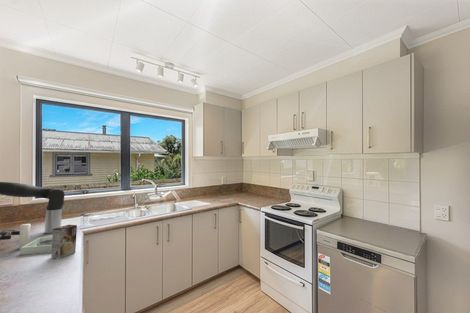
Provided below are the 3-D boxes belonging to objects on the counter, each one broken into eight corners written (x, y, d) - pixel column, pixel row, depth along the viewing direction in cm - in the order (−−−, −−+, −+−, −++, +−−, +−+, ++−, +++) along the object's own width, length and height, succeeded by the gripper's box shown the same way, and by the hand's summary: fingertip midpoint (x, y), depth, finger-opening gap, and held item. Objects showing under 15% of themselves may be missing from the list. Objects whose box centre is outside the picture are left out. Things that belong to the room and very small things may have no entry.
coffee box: (67, 251, 121) (69, 224, 122) (75, 252, 120) (77, 225, 121) (50, 257, 112) (52, 228, 113) (59, 259, 111) (61, 229, 112)
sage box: (39, 243, 132) (40, 237, 132) (68, 241, 137) (69, 235, 137) (20, 254, 115) (20, 247, 115) (54, 251, 119) (54, 245, 120)
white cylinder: (21, 246, 126) (23, 223, 127) (30, 245, 127) (32, 223, 128) (16, 249, 122) (18, 225, 123) (25, 248, 123) (27, 225, 124)
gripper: (-30, 234, 112) (7, 232, 117) (-9, 227, 126) (24, 225, 131) (-32, 248, 112) (6, 245, 117) (-10, 239, 125) (23, 237, 130)
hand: (16, 234), depth 124 cm, fingers open, 8 cm apart
